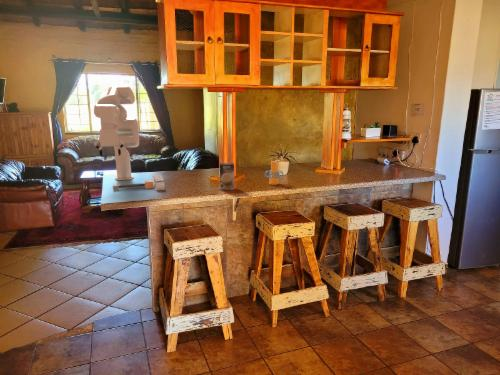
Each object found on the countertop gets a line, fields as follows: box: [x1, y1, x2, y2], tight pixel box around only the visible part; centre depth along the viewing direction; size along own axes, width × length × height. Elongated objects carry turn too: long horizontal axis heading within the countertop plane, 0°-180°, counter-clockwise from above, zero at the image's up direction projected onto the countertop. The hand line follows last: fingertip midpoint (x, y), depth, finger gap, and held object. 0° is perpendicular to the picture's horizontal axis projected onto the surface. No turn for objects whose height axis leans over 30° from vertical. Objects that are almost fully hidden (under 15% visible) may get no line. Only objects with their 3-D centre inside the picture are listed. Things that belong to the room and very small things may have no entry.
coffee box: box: [219, 162, 235, 191], centre depth 227 cm, size 9×6×16 cm
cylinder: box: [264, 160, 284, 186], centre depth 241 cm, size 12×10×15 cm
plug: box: [112, 180, 155, 192], centre depth 230 cm, size 4×24×4 cm, turn 109°
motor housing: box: [152, 174, 166, 191], centre depth 235 cm, size 20×5×6 cm, turn 19°
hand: (110, 156), depth 217 cm, fingers open, 9 cm apart
